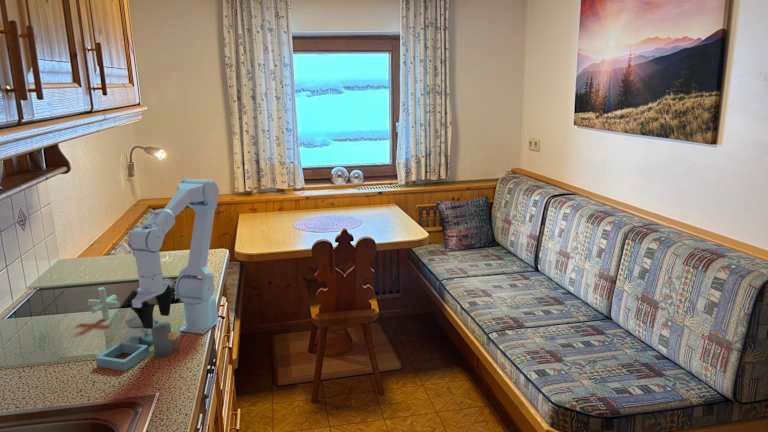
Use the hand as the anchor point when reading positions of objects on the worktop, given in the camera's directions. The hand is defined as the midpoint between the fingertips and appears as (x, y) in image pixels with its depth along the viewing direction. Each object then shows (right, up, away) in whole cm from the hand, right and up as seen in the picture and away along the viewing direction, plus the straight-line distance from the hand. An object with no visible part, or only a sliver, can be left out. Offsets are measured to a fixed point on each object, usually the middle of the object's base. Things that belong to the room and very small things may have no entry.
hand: (157, 321), depth 148 cm
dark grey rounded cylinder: (+1, -9, +4) cm, 10 cm away
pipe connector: (-26, -4, +26) cm, 37 cm away
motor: (-8, -8, +10) cm, 15 cm away
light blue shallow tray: (-9, -10, 0) cm, 14 cm away
